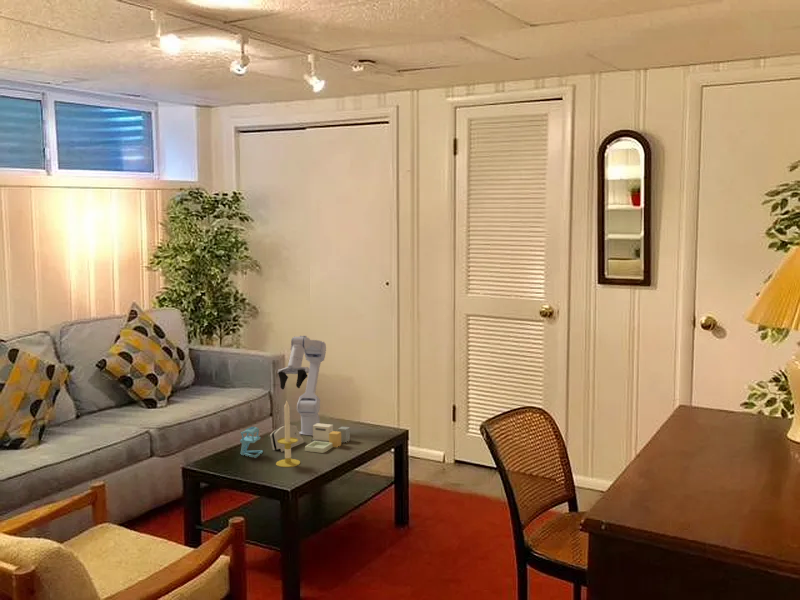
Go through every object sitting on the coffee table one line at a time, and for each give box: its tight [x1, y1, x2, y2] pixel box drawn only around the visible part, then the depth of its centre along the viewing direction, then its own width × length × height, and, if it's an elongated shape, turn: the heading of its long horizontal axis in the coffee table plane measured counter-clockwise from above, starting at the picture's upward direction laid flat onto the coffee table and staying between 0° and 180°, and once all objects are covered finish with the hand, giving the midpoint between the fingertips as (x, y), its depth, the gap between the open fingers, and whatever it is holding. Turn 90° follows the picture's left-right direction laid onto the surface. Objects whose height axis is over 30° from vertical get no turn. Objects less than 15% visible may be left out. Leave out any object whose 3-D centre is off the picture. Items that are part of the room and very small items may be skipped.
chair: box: [239, 426, 264, 459], centre depth 338 cm, size 8×8×12 cm
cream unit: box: [310, 422, 334, 443], centre depth 358 cm, size 6×9×7 cm, turn 69°
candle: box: [275, 400, 301, 468], centre depth 325 cm, size 10×10×27 cm
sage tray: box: [304, 441, 334, 454], centre depth 345 cm, size 9×9×2 cm
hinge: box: [269, 424, 305, 453], centre depth 350 cm, size 17×5×10 cm, turn 150°
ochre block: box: [329, 430, 342, 448], centre depth 350 cm, size 4×4×6 cm
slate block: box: [337, 426, 351, 443], centre depth 357 cm, size 4×4×6 cm
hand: (289, 387), depth 341 cm, fingers open, 7 cm apart
